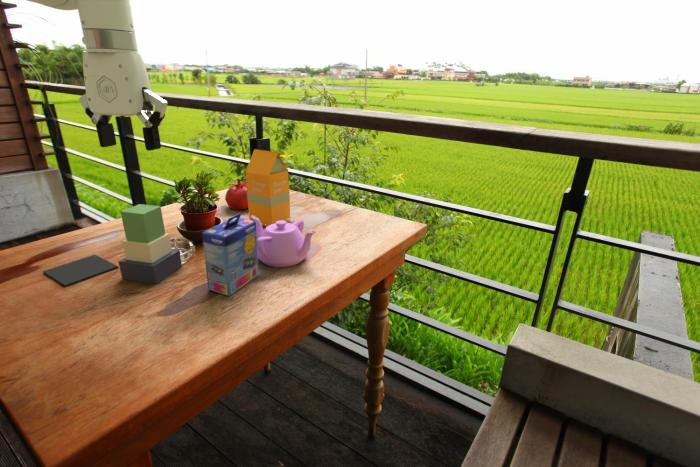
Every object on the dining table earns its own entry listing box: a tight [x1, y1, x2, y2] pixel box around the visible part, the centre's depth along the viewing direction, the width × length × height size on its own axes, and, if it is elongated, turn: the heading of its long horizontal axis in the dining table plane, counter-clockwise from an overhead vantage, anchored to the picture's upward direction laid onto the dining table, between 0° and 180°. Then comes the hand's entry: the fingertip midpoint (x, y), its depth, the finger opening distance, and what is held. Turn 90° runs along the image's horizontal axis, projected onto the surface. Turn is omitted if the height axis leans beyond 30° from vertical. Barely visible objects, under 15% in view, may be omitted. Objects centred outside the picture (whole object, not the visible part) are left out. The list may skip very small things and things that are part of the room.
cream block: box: [122, 232, 173, 263], centre depth 78 cm, size 6×6×4 cm
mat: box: [42, 254, 119, 288], centre depth 81 cm, size 10×10×1 cm
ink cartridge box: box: [201, 212, 259, 297], centre depth 74 cm, size 10×6×14 cm, turn 158°
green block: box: [120, 203, 166, 243], centre depth 76 cm, size 5×5×6 cm
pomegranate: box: [224, 178, 248, 211], centre depth 120 cm, size 10×10×9 cm
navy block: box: [117, 248, 183, 285], centre depth 80 cm, size 8×8×4 cm
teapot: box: [251, 215, 317, 268], centre depth 87 cm, size 12×14×9 cm
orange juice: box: [245, 148, 291, 227], centre depth 107 cm, size 8×9×20 cm
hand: (131, 147), depth 71 cm, fingers open, 9 cm apart
